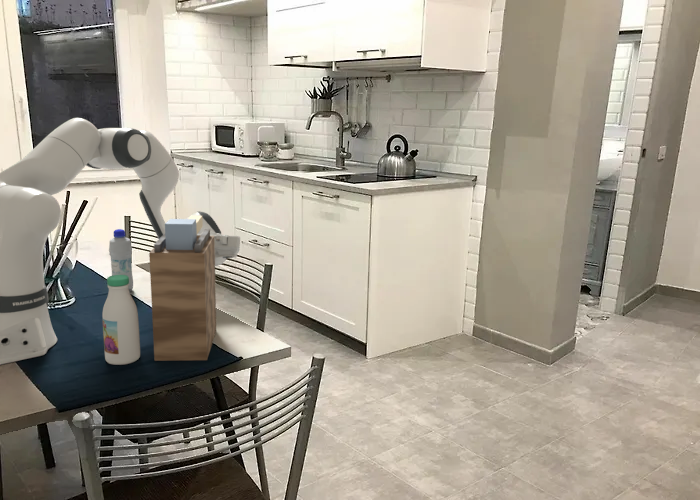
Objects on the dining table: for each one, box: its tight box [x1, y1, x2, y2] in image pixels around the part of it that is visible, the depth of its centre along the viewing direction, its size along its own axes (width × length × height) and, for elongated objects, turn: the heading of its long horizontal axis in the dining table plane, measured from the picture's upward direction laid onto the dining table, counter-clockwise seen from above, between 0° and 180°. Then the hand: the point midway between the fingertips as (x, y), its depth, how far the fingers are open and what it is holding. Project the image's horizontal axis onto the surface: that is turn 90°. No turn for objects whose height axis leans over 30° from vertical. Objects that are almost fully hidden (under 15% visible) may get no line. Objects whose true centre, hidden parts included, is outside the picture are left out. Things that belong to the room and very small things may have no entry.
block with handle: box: [165, 215, 203, 250], centre depth 145 cm, size 26×6×6 cm, turn 6°
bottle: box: [108, 228, 134, 292], centre depth 180 cm, size 7×7×20 cm
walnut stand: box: [148, 229, 217, 362], centre depth 141 cm, size 18×12×28 cm, turn 6°
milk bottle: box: [101, 275, 141, 366], centre depth 133 cm, size 8×8×20 cm
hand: (201, 236), depth 164 cm, fingers open, 8 cm apart
